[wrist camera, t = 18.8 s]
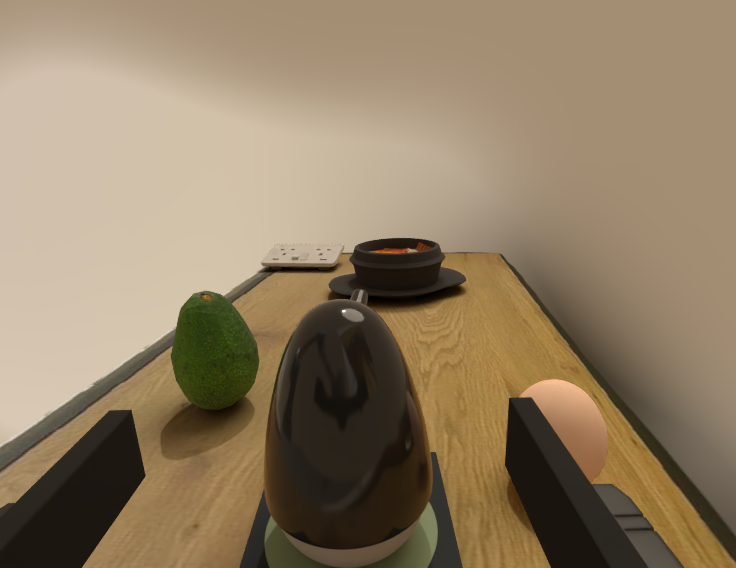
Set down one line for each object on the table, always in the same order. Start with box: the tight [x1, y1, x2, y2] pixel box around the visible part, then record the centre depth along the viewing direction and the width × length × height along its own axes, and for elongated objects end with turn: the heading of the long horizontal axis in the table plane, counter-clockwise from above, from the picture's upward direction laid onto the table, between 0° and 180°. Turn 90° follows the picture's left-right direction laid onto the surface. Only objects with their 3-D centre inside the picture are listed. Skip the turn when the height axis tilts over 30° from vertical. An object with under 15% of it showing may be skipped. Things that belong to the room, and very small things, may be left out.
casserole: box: [329, 238, 466, 299], centre depth 78 cm, size 25×19×8 cm
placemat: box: [240, 452, 463, 568], centre depth 28 cm, size 13×14×1 cm
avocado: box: [171, 291, 259, 410], centre depth 42 cm, size 8×8×12 cm
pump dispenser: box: [264, 289, 433, 568], centre depth 26 cm, size 10×10×15 cm
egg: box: [506, 379, 608, 483], centre depth 31 cm, size 7×7×8 cm
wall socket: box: [261, 244, 344, 271], centre depth 98 cm, size 18×15×4 cm
